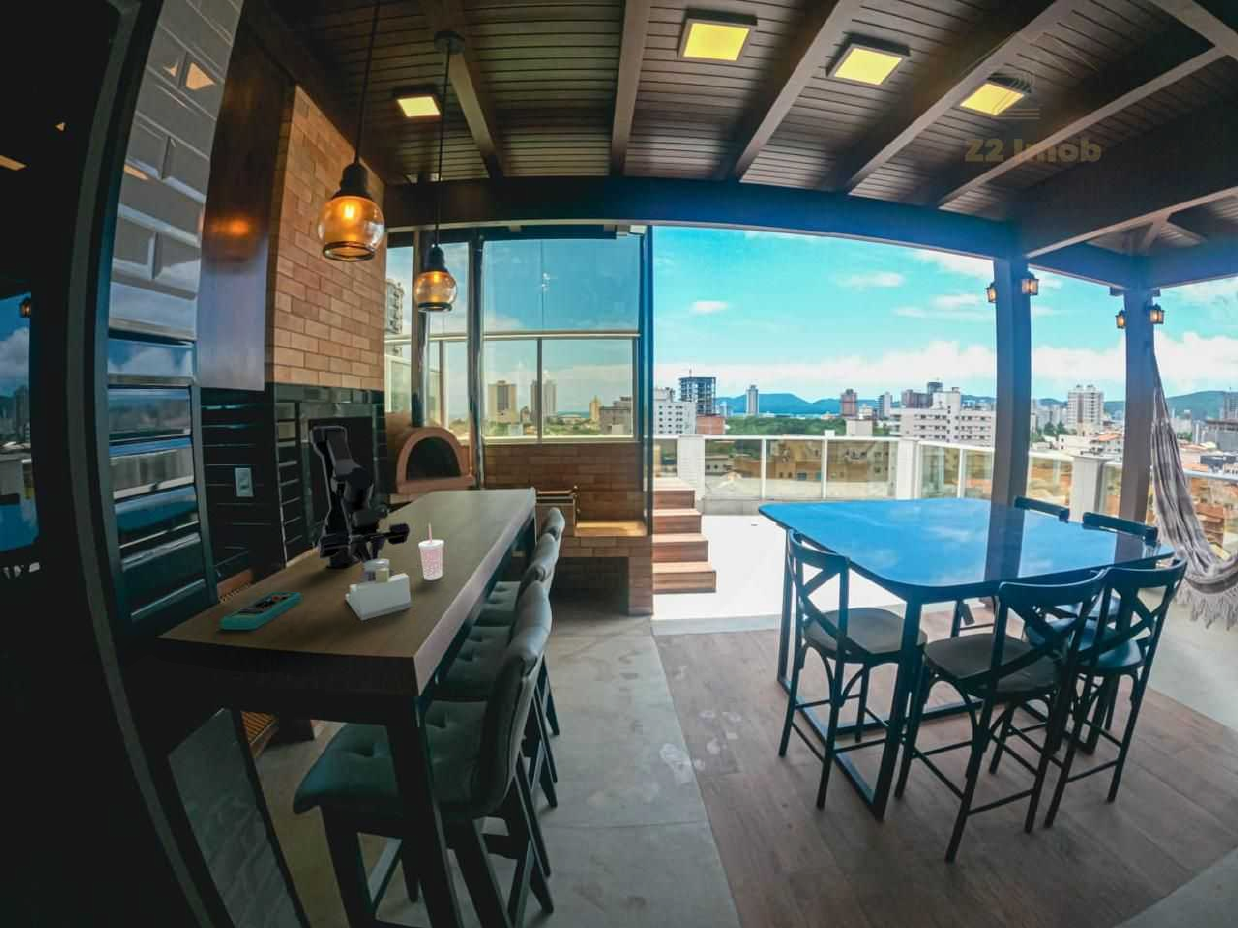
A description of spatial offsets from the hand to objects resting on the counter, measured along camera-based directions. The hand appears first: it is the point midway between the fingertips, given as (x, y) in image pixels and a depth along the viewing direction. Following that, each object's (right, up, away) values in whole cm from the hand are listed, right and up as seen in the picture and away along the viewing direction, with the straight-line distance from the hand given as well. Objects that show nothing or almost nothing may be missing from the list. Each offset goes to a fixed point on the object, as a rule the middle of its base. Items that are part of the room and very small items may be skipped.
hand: (374, 570), depth 111 cm
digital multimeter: (-21, -9, -5) cm, 24 cm away
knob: (+2, -6, -1) cm, 6 cm away
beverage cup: (+7, -5, +17) cm, 19 cm away
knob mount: (+1, -7, 0) cm, 7 cm away
